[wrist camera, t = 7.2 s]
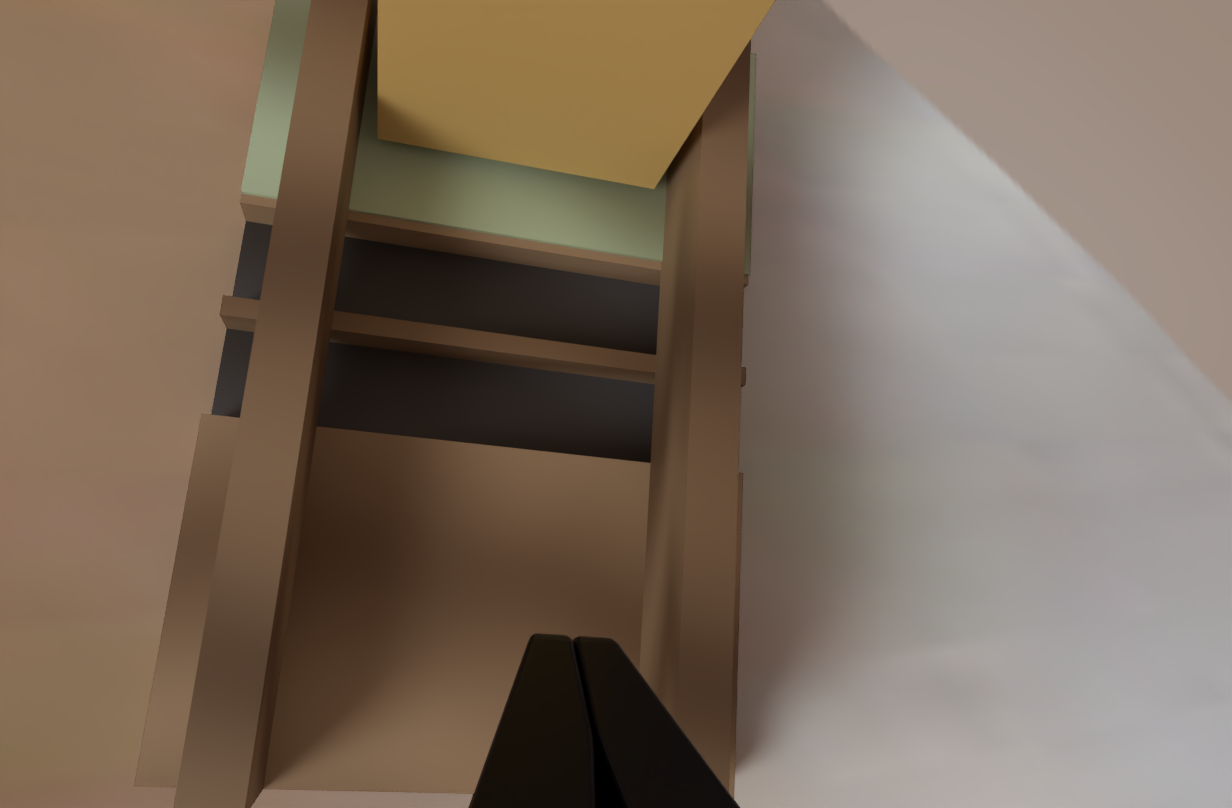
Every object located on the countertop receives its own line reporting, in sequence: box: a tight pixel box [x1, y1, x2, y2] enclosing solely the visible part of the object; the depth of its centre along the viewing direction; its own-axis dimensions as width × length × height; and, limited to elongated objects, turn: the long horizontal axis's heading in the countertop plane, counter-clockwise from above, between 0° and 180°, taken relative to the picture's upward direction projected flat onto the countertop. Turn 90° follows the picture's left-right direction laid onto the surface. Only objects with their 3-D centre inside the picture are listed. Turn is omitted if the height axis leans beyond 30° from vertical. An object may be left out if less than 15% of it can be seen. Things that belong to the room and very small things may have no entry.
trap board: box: [134, 0, 756, 808], centre depth 18 cm, size 17×11×4 cm, turn 176°
